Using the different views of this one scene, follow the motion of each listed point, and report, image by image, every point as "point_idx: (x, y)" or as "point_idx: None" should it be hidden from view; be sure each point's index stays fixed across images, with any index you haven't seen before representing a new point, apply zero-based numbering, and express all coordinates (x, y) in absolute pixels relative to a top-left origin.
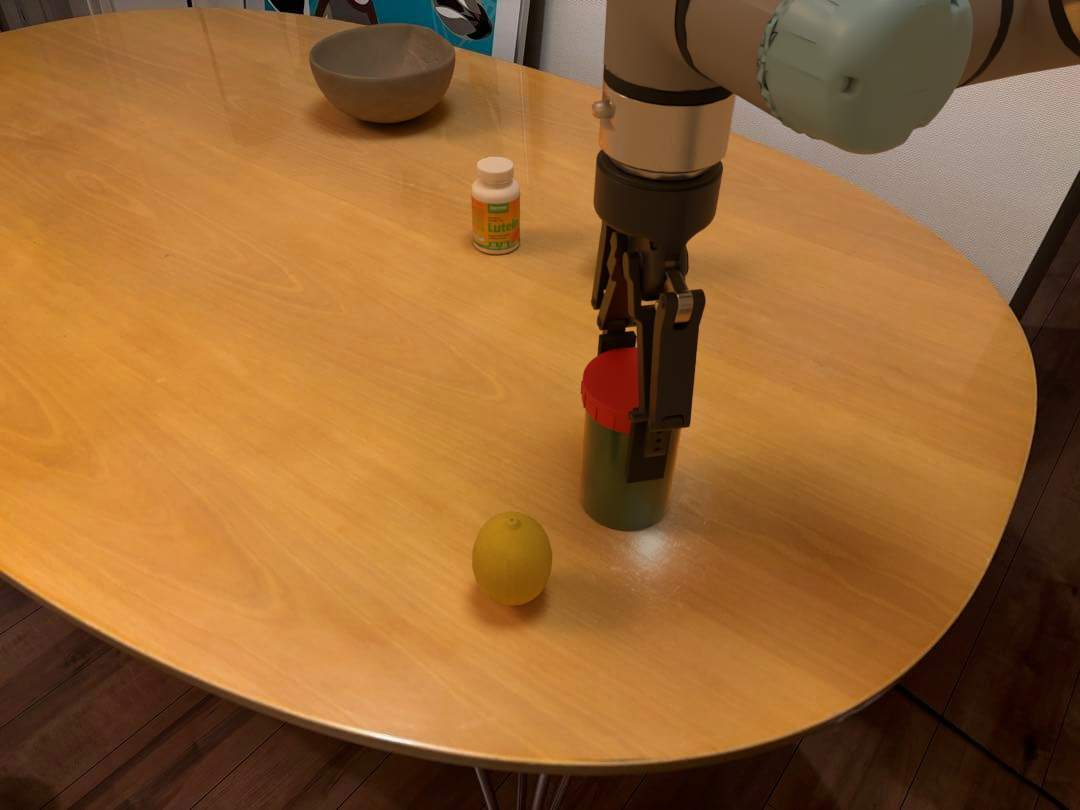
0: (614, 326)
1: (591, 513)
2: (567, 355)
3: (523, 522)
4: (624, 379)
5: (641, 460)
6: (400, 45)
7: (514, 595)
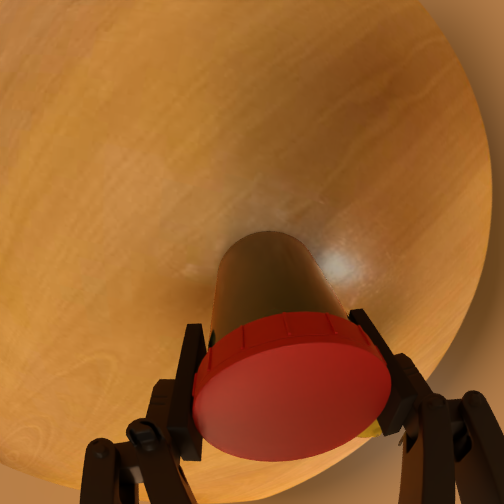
0: (176, 460)
1: None
2: (43, 288)
3: (377, 425)
4: (290, 431)
5: None
6: None
7: None
